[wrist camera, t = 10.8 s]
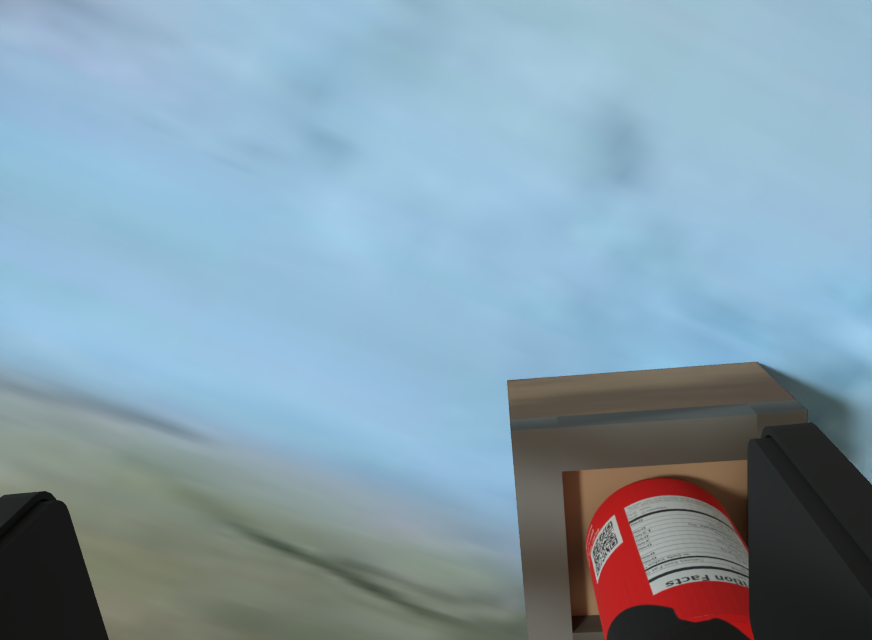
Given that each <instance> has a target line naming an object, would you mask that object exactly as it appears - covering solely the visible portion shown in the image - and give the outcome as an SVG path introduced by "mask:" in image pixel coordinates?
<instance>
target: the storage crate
mask: <svg viewBox="0 0 872 640" xmlns="http://www.w3.org/2000/svg"><path fill="white" fill-rule="evenodd" d="M507 385H508V399H509V413H510V427H511V439H512V451H513V463H514V475H515V487H516V499H517V511H518V523H519V535H520V547H521V559H522V571H523V583H524V595H525V607H526V619H527V631H528V640H605V639H604V634H603V629H602V625H601V620H600V615H599V611H598V606H597V602H596V597H595V592H594V588H593V583H592V578H591V574H590V569H589V565H588V560H587V554H586V537H587V532H588V528H589V525H590V523H591V520H592V518H593V516H594V514H595V512H596V511H597V509H598V508H599V507H600V505H601V504H602V503H603V502H604V501H605V500H606V499H607V498H608V497H609V496H610V495H612V494H613V493H614V492H616V491H617V490H619V489H620V488H622V487H624V486H626V485H628V484H631V483H633V482H636V481H639V480H644V479H649V478H674V479H679V480H683V481H687V482H689V483H692V484H694V485H696V486H698V487H700V488H702V489H704V490H705V491H707V492H708V493H710V494H711V495H712V496H713V497H715V498H716V499H717V500H718V501H719V502H720V504H721V505H722V506H723V507H724V509H725V510H726V512H727V513H728V515H729V517H730V519H731V520H732V522H733V524H734V525H735V527H736V529H737V530H738V532H739V534H740V536H741V537H742V539H743V541H744V542H745V544H746V546H747V548H748V458H747V451H748V443H749V441H750V439H757V438H761V435H762V431H763V429H764V428H765V427H767V426H778V425H789V424H800V423H808V410H807V409H806V408H805V407H803V406H802V405H801V404H800V403H799V402H798V401H797V400H796V399H795V398H794V397H793V396H792V395H791V394H790V393H789V392H788V391H787V390H785V389H784V388H783V387H782V386H781V385H780V384H779V383H778V382H777V381H776V380H775V379H774V378H773V377H772V376H771V375H770V374H769V373H767V372H766V371H765V370H764V369H763V368H762V367H761V366H760V365H759V364H758V363H757V362H748V363H735V364H721V365H708V366H694V367H681V368H668V369H654V370H641V371H627V372H614V373H600V374H587V375H574V376H560V377H547V378H533V379H520V380H507Z"/></svg>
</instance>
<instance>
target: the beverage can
mask: <svg viewBox="0 0 872 640" xmlns="http://www.w3.org/2000/svg"><path fill="white" fill-rule="evenodd" d="M586 554H587V560H588V565H589V569H590V574H591V578H592V583H593V588H594V592H595V597H596V602H597V606H598V611H599V615H600V620H601V625H602V629H603V634H604V639H605V640H755V639H754V636H753V633H752V629H751V624H750V618H749V563H748V548H747V546H746V544H745V542H744V541H743V539H742V537H741V536H740V534H739V532H738V530H737V529H736V527H735V525H734V524H733V522H732V520H731V519H730V517H729V515H728V513H727V512H726V510H725V509H724V507H723V506H722V505H721V504H720V502H719V501H718V500H717V499H716V498H715V497H713V496H712V495H711V494H710V493H708V492H707V491H705V490H704V489H702V488H700V487H698V486H696V485H694V484H692V483H689V482H687V481H683V480H679V479H674V478H649V479H644V480H639V481H636V482H633V483H631V484H628V485H626V486H624V487H622V488H620V489H619V490H617V491H616V492H614V493H613V494H612V495H610V496H609V497H608V498H607V499H606V500H605V501H604V502H603V503H602V504H601V505H600V507H599V508H598V509H597V511H596V512H595V514H594V516H593V518H592V520H591V523H590V525H589V528H588V532H587V537H586Z"/></svg>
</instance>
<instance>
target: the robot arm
mask: <svg viewBox="0 0 872 640" xmlns="http://www.w3.org/2000/svg"><path fill="white" fill-rule="evenodd" d="M747 458H748V563H749V618H750V624H751V629H752V633H753V636H754V639H755V640H872V484H871V483H870V482H869V481H868V480H867V479H866V478H865V477H864V476H863V475H862V474H861V473H860V472H859V471H858V470H857V469H856V468H855V466H854V465H853V464H852V463H851V462H850V461H849V460H848V459H847V458H846V457H845V456H844V455H843V454H842V453H841V452H840V451H839V450H838V448H837V447H836V446H835V445H834V444H833V443H832V442H831V441H830V440H829V439H828V438H827V437H826V436H825V435H824V434H823V433H822V432H821V430H820V429H819V428H818V427H817V426H816V425H814V424H813V423H800V424H789V425H778V426H767V427H765V428H764V429H763V431H762V435H761V438H757V439H750V441H749V443H748V451H747ZM0 640H109V639H108V636H107V632H106V629H105V626H104V623H103V620H102V616H101V613H100V610H99V607H98V604H97V600H96V597H95V594H94V591H93V588H92V584H91V581H90V578H89V575H88V572H87V568H86V565H85V562H84V559H83V555H82V552H81V549H80V546H79V543H78V539H77V536H76V533H75V530H74V527H73V523H72V520H71V517H70V514H69V511H68V509H67V506H66V505H65V504H64V503H63V502H62V501H59V500H56V498H55V497H54V496H53V495H52V494H51V493H49V492H46V491H43V492H32V493H21V494H10V495H4V496H2V497H0Z"/></svg>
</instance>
